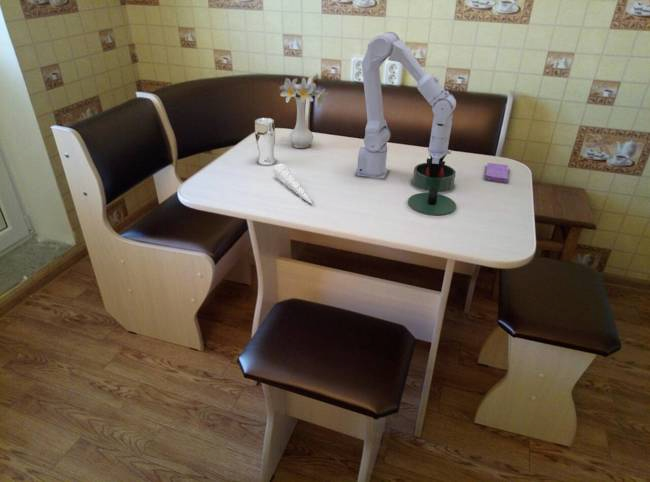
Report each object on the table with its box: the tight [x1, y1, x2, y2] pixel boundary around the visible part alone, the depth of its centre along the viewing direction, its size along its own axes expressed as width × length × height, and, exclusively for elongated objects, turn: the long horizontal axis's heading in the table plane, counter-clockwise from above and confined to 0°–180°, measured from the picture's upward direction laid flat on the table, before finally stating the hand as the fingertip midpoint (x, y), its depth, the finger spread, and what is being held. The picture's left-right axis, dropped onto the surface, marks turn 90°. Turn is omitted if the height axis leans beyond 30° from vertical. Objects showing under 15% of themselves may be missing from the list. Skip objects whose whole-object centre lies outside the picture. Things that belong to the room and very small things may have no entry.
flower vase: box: [279, 77, 329, 149], centre depth 171 cm, size 13×18×25 cm
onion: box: [425, 167, 444, 178], centre depth 146 cm, size 6×6×8 cm
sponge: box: [484, 162, 509, 184], centre depth 156 cm, size 7×13×2 cm, turn 160°
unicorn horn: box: [272, 163, 313, 205], centre depth 142 cm, size 5×24×5 cm, turn 26°
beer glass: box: [254, 117, 276, 166], centre depth 159 cm, size 7×7×15 cm
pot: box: [412, 162, 457, 193], centre depth 147 cm, size 13×13×5 cm
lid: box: [407, 188, 457, 217], centre depth 134 cm, size 14×14×5 cm
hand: (433, 176), depth 147 cm, fingers closed on onion, 6 cm apart
